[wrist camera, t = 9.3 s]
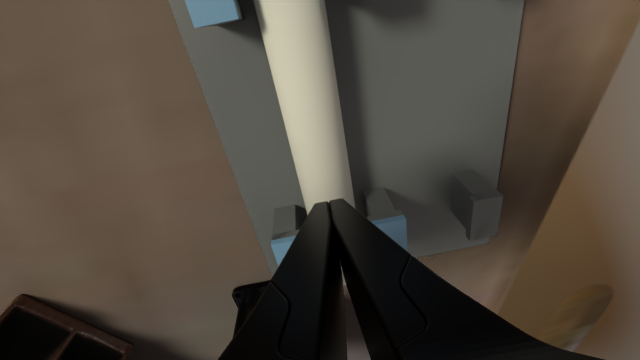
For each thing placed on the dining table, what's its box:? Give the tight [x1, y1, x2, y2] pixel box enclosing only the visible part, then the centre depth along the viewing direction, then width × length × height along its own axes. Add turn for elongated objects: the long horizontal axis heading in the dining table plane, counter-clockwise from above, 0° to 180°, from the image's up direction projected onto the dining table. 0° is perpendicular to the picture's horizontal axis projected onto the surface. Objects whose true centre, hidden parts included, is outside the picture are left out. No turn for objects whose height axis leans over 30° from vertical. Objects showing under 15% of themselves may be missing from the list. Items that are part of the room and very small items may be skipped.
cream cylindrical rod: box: [253, 0, 356, 286], centre depth 15 cm, size 21×3×3 cm, turn 10°
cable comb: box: [168, 0, 524, 277], centre depth 15 cm, size 17×25×4 cm
